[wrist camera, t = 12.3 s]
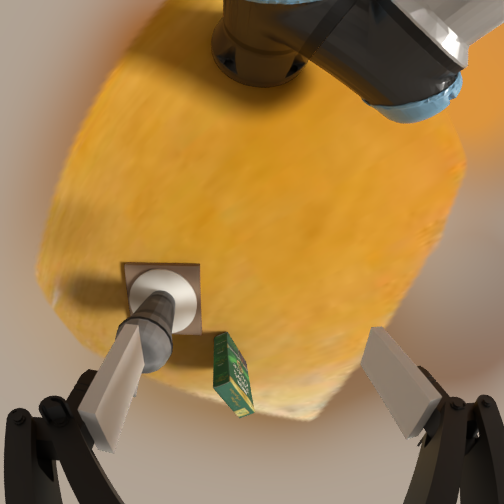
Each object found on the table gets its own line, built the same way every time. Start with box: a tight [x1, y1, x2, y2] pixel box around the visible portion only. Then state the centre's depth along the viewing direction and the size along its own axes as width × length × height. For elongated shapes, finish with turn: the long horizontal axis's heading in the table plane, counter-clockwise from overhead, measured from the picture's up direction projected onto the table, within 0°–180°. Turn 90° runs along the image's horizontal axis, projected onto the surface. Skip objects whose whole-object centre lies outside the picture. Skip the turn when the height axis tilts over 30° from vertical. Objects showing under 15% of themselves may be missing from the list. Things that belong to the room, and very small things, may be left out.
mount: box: [124, 262, 202, 335], centre depth 43 cm, size 12×12×2 cm
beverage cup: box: [115, 290, 176, 397], centre depth 32 cm, size 7×7×20 cm
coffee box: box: [213, 332, 255, 418], centre depth 41 cm, size 8×3×13 cm, turn 25°
